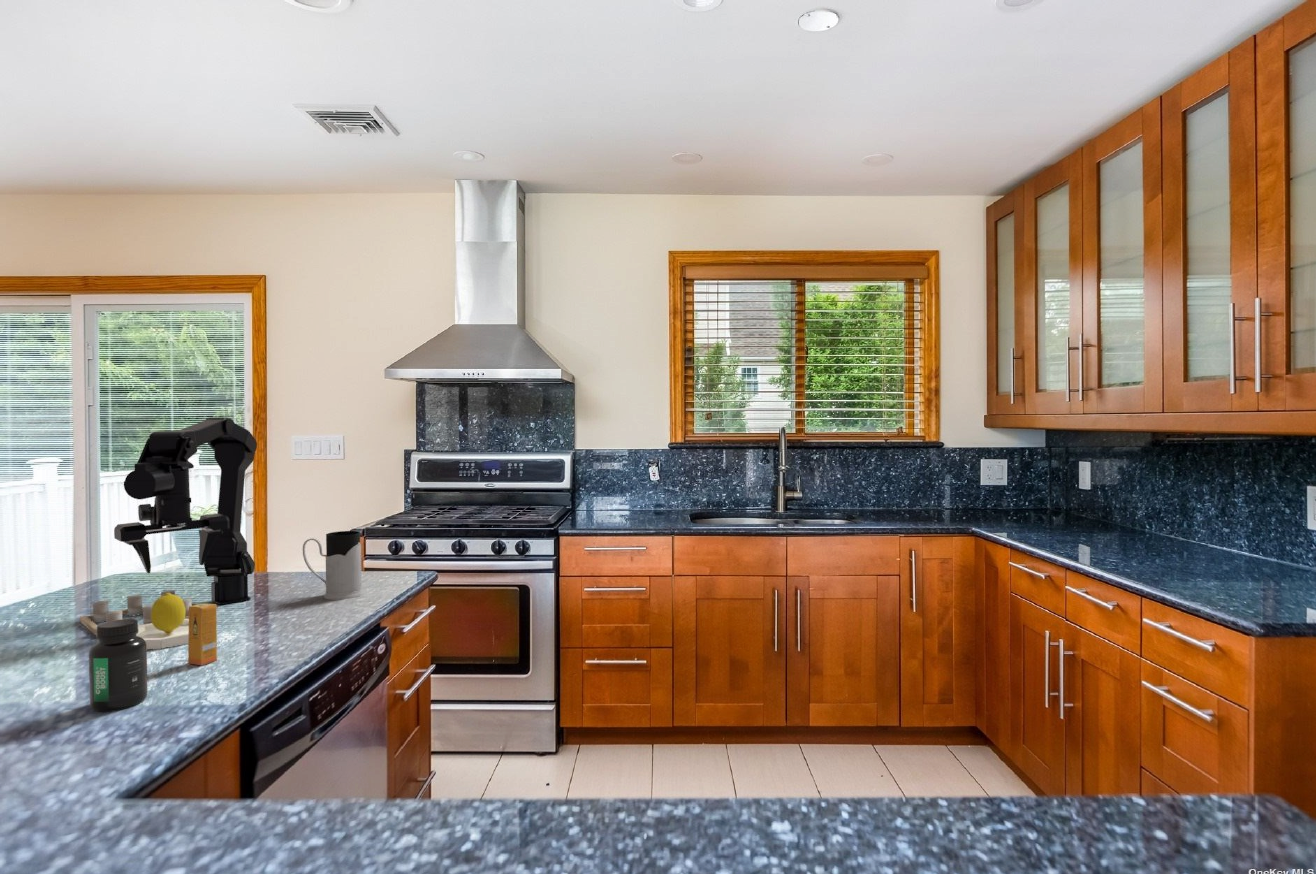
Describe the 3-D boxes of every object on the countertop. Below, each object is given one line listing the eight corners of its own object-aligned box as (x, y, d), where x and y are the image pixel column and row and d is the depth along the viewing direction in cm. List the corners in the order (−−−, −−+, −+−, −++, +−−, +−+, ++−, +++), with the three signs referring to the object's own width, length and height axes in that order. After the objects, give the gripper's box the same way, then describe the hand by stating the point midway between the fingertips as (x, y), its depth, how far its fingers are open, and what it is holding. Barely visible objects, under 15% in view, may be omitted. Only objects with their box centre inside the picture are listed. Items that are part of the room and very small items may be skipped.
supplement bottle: (101, 716, 100) (99, 632, 99) (81, 706, 103) (79, 625, 103) (156, 700, 106) (154, 620, 105) (135, 691, 109) (133, 614, 109)
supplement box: (219, 660, 123) (218, 603, 123) (201, 666, 120) (199, 608, 120) (205, 658, 124) (204, 601, 124) (186, 664, 121) (185, 606, 121)
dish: (198, 623, 146) (198, 614, 146) (221, 636, 137) (221, 627, 137) (115, 639, 135) (115, 630, 135) (133, 654, 126) (133, 645, 126)
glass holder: (353, 599, 165) (353, 536, 165) (294, 599, 165) (293, 536, 165) (369, 590, 174) (368, 530, 174) (312, 590, 174) (312, 530, 174)
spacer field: (180, 604, 161) (179, 587, 161) (205, 618, 149) (204, 600, 149) (80, 621, 148) (79, 602, 148) (98, 638, 136) (98, 618, 136)
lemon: (192, 629, 139) (191, 589, 138) (170, 638, 133) (169, 596, 133) (167, 629, 139) (166, 589, 139) (143, 637, 134) (142, 596, 133)
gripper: (211, 485, 155) (213, 555, 156) (105, 494, 141) (108, 571, 141) (229, 489, 148) (231, 563, 148) (120, 499, 133) (123, 580, 134)
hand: (175, 568), depth 143 cm, fingers open, 9 cm apart
